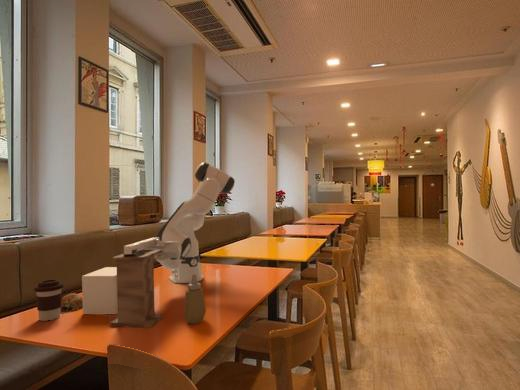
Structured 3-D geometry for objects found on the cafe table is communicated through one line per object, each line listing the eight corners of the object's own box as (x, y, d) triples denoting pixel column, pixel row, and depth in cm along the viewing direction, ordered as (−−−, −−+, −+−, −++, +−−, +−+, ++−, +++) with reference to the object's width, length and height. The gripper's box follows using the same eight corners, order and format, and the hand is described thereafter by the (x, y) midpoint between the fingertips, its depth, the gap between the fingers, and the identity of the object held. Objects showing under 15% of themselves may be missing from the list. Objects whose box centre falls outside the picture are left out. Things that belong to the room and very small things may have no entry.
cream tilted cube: (106, 301, 161) (105, 267, 161) (135, 301, 160) (134, 267, 160) (82, 314, 143) (81, 276, 143) (114, 315, 142) (114, 276, 142)
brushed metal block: (153, 244, 154) (152, 237, 154) (159, 244, 154) (159, 237, 154) (124, 254, 129) (123, 246, 129) (131, 254, 128) (131, 246, 128)
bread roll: (85, 314, 155) (91, 296, 158) (68, 311, 146) (74, 292, 149) (68, 312, 158) (74, 294, 161) (50, 309, 149) (57, 290, 153)
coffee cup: (45, 314, 145) (45, 278, 145) (68, 314, 145) (68, 278, 145) (29, 322, 135) (28, 284, 135) (54, 322, 135) (53, 284, 135)
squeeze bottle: (185, 318, 136) (184, 272, 136) (206, 317, 137) (205, 271, 137) (183, 326, 128) (181, 277, 128) (205, 324, 129) (204, 276, 129)
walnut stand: (131, 311, 146) (130, 245, 146) (168, 311, 144) (166, 244, 144) (108, 327, 128) (107, 252, 128) (150, 328, 126) (148, 251, 127)
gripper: (143, 246, 165) (131, 234, 153) (185, 246, 162) (175, 234, 151) (140, 258, 161) (127, 247, 150) (182, 259, 159) (173, 247, 147)
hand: (152, 241), depth 150 cm, fingers closed on brushed metal block, 3 cm apart
